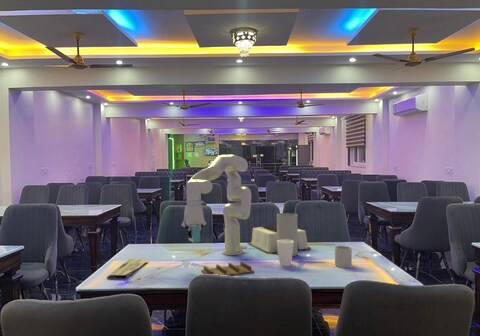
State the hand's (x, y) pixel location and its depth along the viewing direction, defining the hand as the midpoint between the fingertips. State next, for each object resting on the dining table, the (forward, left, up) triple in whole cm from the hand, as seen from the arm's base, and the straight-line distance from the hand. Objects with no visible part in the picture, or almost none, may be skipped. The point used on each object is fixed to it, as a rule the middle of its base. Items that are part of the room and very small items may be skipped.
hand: (194, 237), depth 201 cm
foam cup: (-49, +14, -17) cm, 53 cm away
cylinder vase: (-62, -5, -17) cm, 64 cm away
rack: (-14, +14, -17) cm, 26 cm away
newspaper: (+32, -14, -18) cm, 39 cm away
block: (0, 0, -2) cm, 2 cm away
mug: (-77, +30, -17) cm, 84 cm away
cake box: (-69, -29, -18) cm, 77 cm away
